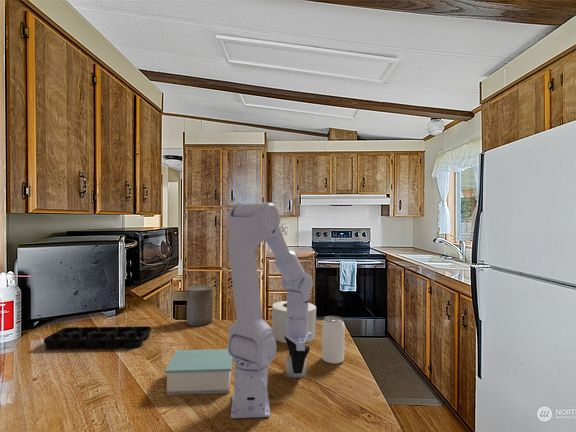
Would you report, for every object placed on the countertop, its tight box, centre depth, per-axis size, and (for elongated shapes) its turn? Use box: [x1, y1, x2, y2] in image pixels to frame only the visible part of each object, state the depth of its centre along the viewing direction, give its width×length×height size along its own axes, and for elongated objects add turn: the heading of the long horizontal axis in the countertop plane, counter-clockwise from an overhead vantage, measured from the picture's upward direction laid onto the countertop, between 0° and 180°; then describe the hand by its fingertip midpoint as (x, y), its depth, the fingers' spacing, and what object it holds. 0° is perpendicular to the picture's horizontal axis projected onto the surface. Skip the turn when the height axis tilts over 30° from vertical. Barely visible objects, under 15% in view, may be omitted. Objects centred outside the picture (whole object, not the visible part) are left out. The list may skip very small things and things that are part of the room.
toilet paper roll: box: [271, 300, 317, 344], centre depth 117 cm, size 16×15×11 cm
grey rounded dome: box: [285, 354, 307, 379], centre depth 88 cm, size 5×5×4 cm
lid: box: [164, 348, 233, 374], centre depth 82 cm, size 12×15×1 cm
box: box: [166, 367, 233, 396], centre depth 83 cm, size 12×14×5 cm
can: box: [321, 315, 346, 365], centre depth 98 cm, size 6×6×12 cm
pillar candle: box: [186, 284, 213, 327], centre depth 130 cm, size 10×10×15 cm
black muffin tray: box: [43, 325, 152, 351], centre depth 107 cm, size 18×30×4 cm, turn 108°
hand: (296, 367), depth 88 cm, fingers closed on grey rounded dome, 5 cm apart
